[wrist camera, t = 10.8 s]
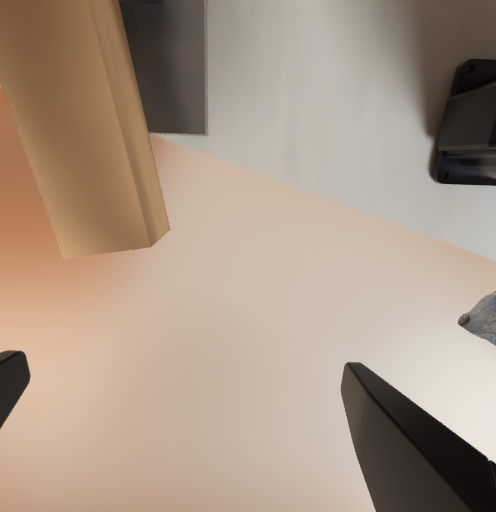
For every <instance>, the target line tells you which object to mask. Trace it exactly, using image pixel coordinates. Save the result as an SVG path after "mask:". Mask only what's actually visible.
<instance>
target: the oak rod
mask: <svg viewBox="0 0 496 512" xmlns="http://www.w3.org/2000/svg"><path fill="white" fill-rule="evenodd" d="M0 82H1V85H2V88H3V91H4V94H5V96H6V99H7V102H8V105H9V108H10V110H11V113H12V116H13V119H14V122H15V124H16V127H17V130H18V133H19V136H20V139H21V141H22V144H23V147H24V150H25V153H26V155H27V158H28V161H29V164H30V167H31V169H32V172H33V175H34V178H35V181H36V184H37V186H38V189H39V192H40V195H41V198H42V200H43V203H44V206H45V209H46V211H47V214H48V217H49V220H50V223H51V225H52V228H53V231H54V234H55V237H56V240H57V243H58V245H59V248H60V251H61V254H62V257H63V259H67V258H73V257H81V256H89V255H96V254H103V253H111V252H118V251H126V250H133V249H140V248H147V247H151V246H152V245H153V244H155V243H156V242H157V241H158V240H159V239H160V238H161V237H162V236H164V234H166V233H167V232H168V231H169V230H170V226H169V221H168V217H167V213H166V208H165V204H164V200H163V195H162V191H161V187H160V182H159V177H158V173H157V169H156V164H155V160H154V155H153V151H152V147H151V142H150V138H149V133H148V129H147V124H146V120H145V116H144V111H143V107H142V102H141V98H140V94H139V89H138V85H137V80H136V76H135V72H134V67H133V63H132V58H131V54H130V50H129V45H128V41H127V36H126V32H125V28H124V23H123V19H122V14H121V10H120V6H119V1H118V0H0Z"/></svg>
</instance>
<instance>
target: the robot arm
mask: <svg viewBox="0 0 496 512" xmlns="http://www.w3.org/2000/svg"><path fill="white" fill-rule="evenodd" d="M466 67H468V68H469V69H470V72H469V74H468V75H467V74H466V73H465V69H466ZM437 146H438V148H439V149H438V154H437V158H436V163H435V167H434V172H433V180H434V181H435V182H436V183H440V184H462V185H491V186H496V60H486V59H470V60H467V61H465V62H463V63H461V64H460V65H459V66H458V67H457V70H456V73H455V77H454V82H453V86H452V91H451V95H450V99H449V100H448V101H447V104H446V109H445V113H444V118H443V123H442V127H441V132H440V136H439V141H438V145H437ZM442 172H445V176H444V178H443V179H442V178H441V174H442ZM29 381H30V371H29V367H28V362H27V358H26V355H25V353H24V352H22V351H12V350H11V351H10V350H8V351H4V352H1V353H0V429H1V427H2V425H3V424H4V422H5V421H6V419H7V417H8V416H9V414H10V413H11V411H12V409H13V408H14V406H15V405H16V403H17V401H18V400H19V398H20V397H21V395H22V393H23V392H24V390H25V388H26V387H27V385H28V383H29ZM341 395H342V399H343V403H344V407H345V411H346V416H347V419H348V424H349V428H350V432H351V437H352V441H353V445H354V448H355V452H356V455H357V458H358V461H359V464H360V467H361V470H362V472H363V476H364V479H365V481H366V484H367V487H368V490H369V493H370V496H371V499H372V501H373V504H374V507H375V510H376V512H496V463H494V462H493V461H491V460H489V461H488V459H487V457H486V456H485V455H483V454H482V453H481V452H479V451H478V450H477V449H475V448H474V447H473V446H471V445H470V444H469V443H467V442H466V441H465V440H463V439H462V438H461V437H459V436H458V435H457V434H455V433H454V432H453V431H451V430H450V429H449V428H447V427H446V426H445V425H443V424H442V423H441V422H439V421H438V420H437V419H435V418H434V417H433V416H431V415H430V414H429V413H427V412H426V411H425V410H423V409H422V408H421V407H419V406H418V405H417V404H415V403H414V402H413V401H411V400H410V399H409V398H407V397H406V396H405V395H403V394H402V393H401V392H399V391H398V390H397V389H395V388H394V387H393V386H391V385H390V384H389V383H387V382H386V381H384V380H383V379H382V378H381V377H379V376H378V375H377V374H375V373H374V372H373V371H371V370H370V369H369V368H367V367H366V366H364V365H363V364H362V363H359V362H347V363H346V364H345V366H344V371H343V377H342V383H341Z"/></svg>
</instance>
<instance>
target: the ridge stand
mask: <svg viewBox="0 0 496 512" xmlns="http://www.w3.org/2000/svg"><path fill="white" fill-rule="evenodd" d="M118 1H119V6H120V10H121V14H122V19H123V23H124V28H125V32H126V36H127V41H128V45H129V50H130V54H131V58H132V63H133V67H134V72H135V76H136V80H137V85H138V89H139V94H140V98H141V102H142V107H143V111H144V116H145V120H146V124H147V129H148V133H149V134H168V135H196V136H208V97H207V0H118Z"/></svg>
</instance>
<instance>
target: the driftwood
mask: <svg viewBox="0 0 496 512" xmlns="http://www.w3.org/2000/svg"><path fill="white" fill-rule="evenodd" d="M458 324H459V325H460V326H461V327H463V328H464V329H466V330H467V331H469V332H470V333H472V334H474V335H476V336H477V337H480V338H483V339H486V340H488V341H489V342H491V343H492V344H494V345H495V346H496V291H495V292H493V293H491V294H488V295H486V296H485V297H484V298H482V299H481V300H480V301H479V302H478V303H477V304H476V306H475V307H473V309H472V310H471V311H469V312H467V313H465V314H463V315H462V316H461V317H460V318H459V320H458Z"/></svg>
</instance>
